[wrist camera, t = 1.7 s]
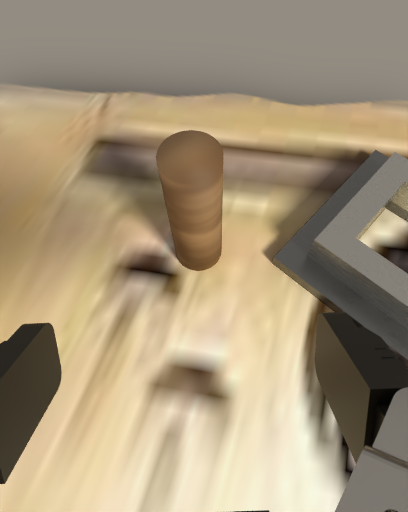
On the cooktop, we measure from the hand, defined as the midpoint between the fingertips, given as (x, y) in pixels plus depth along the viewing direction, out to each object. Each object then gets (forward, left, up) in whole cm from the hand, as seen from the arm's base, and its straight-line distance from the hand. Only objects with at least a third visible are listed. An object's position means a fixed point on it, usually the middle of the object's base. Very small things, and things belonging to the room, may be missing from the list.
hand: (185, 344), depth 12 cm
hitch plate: (+4, +18, -15) cm, 24 cm away
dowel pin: (-8, +8, -15) cm, 19 cm away
